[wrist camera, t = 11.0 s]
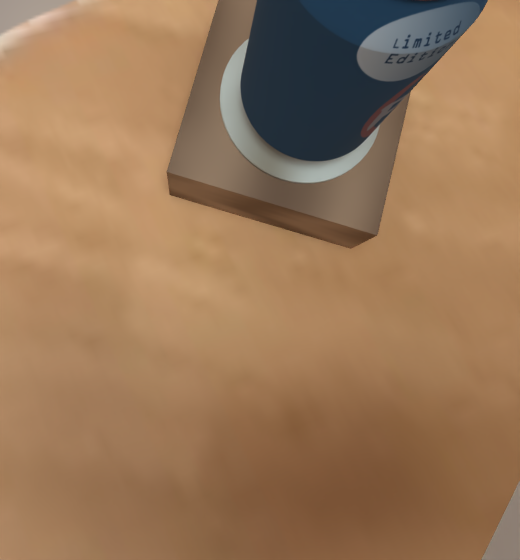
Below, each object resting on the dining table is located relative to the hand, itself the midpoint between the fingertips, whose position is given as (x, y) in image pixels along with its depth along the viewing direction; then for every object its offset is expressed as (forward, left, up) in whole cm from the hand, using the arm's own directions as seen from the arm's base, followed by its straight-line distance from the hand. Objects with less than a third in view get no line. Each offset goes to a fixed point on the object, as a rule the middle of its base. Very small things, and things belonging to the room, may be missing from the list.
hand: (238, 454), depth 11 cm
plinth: (-1, -15, -15) cm, 22 cm away
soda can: (-1, -15, -11) cm, 19 cm away
